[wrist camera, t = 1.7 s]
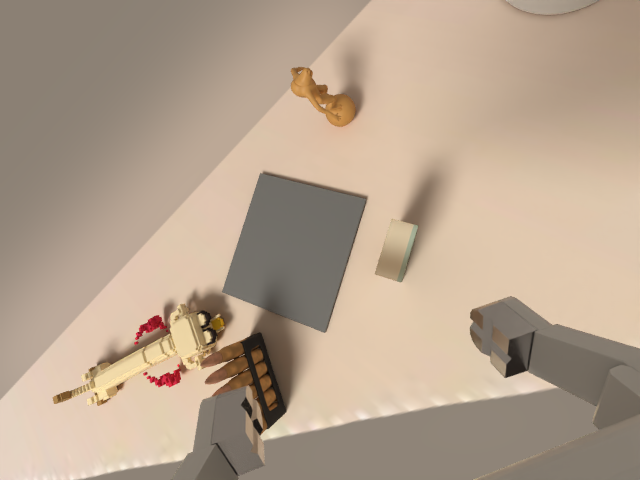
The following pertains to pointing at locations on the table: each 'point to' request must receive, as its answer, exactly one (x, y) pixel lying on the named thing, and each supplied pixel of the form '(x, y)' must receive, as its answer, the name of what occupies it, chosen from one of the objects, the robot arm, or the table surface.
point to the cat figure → (154, 354)
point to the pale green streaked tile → (396, 250)
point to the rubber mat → (294, 249)
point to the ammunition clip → (249, 375)
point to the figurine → (323, 98)
